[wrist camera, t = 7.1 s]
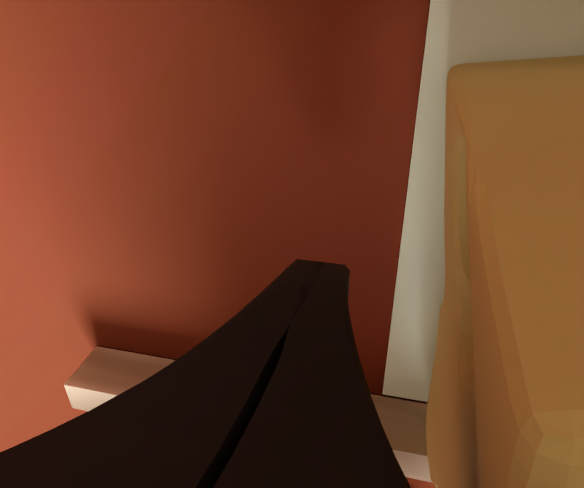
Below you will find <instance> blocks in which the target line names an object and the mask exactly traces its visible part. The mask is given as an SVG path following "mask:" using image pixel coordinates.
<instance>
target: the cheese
mask: <svg viewBox="0 0 584 488" xmlns="http://www.w3.org/2000/svg"><path fill="white" fill-rule="evenodd" d="M444 241H445V293H444V301H443V302H442V304H441V307H440V313H439V322H438V332H437V342H436V351H435V358H434V364H433V370H432V376H431V383H430V389H429V396H428V404H427V415H426V444H427V458H428V464H429V471H430V479H431V481H432V483H433V484H434V485H435V487H436V488H584V55H581V56H567V57H552V58H537V59H522V60H507V61H493V62H477V63H464V64H457V65H455V66H453V67H451V69H450V71H449V72H448V75H447V84H446V124H445V189H444Z"/></svg>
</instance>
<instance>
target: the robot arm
mask: <svg viewBox="0 0 584 488" xmlns="http://www.w3.org/2000/svg"><path fill="white" fill-rule="evenodd" d="M349 275H350V270H349V269H348V268H347V267H346V266H345V265H341V264H333V263H324V262H316V261H307V260H299V259H297V260H296V261H294V262H293V263H292V264H291V265H290V266H289V267H288V268H286V269H285V270H284V271H283V272H282V273H281V274H280V275H279V276H278V277H277V278H276V279H275V280H274V281H273V282H272V283H271V284H270V285H269V286H268V287H266V288H265V289H264V290H263V291H262V292H261V293H260V294H259V295H258V296H257V297H255V298H254V299H253V300H252V301H251V302H250V303H249V304H247V305H246V306H245V307H244V308H243V309H242V310H241V311H239V312H238V313H237V314H236V315H235V316H234V317H232V318H231V319H230V320H229V321H228V322H226V323H225V324H224V325H222V326H221V327H220V328H219V329H217V330H216V331H215V332H213V333H212V334H211V335H210V336H208V337H207V338H206V339H205V340H203V341H202V342H201V343H199V344H198V345H197V346H195V347H194V348H193V349H191V350H190V351H188V352H187V353H186V354H184V355H183V356H181V357H180V358H178V359H177V360H175V361H174V362H172V363H171V364H169V365H168V366H166V367H165V368H163V369H162V370H160V371H159V372H157V373H155V374H154V375H152V376H151V377H149V378H147V379H146V380H144V381H142V382H141V383H139V384H137V385H135V386H133V387H132V388H130V389H128V390H126V391H124V392H123V393H121V394H119V395H117V396H115V397H113V398H112V399H110V400H108V401H106V402H104V403H103V404H101V405H99V406H97V407H95V408H94V409H92V410H90V411H88V412H86V413H84V414H82V415H80V416H78V417H76V418H74V419H72V420H70V421H68V422H66V423H64V424H62V425H60V426H58V427H56V428H54V429H52V430H50V431H47V432H45V433H43V434H41V435H39V436H36V437H34V438H32V439H30V440H28V441H25V442H23V443H21V444H19V445H17V446H14V447H12V448H10V449H7V450H5V451H3V452H0V488H410V485H409V483H408V481H407V479H406V477H405V475H404V473H403V471H402V469H401V467H400V465H399V463H398V461H397V459H396V457H395V454H394V452H393V450H392V447H391V445H390V443H389V440H388V438H387V436H386V433H385V431H384V428H383V426H382V424H381V421H380V419H379V416H378V413H377V411H376V408H375V405H374V403H373V400H372V397H371V394H370V391H369V389H368V386H367V382H366V379H365V376H364V373H363V369H362V366H361V363H360V359H359V356H358V352H357V348H356V344H355V340H354V335H353V330H352V325H351V320H350V314H349V307H348V292H349Z"/></svg>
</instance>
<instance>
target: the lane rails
mask: <svg viewBox="0 0 584 488" xmlns="http://www.w3.org/2000/svg"><path fill="white" fill-rule="evenodd" d="M174 361H175V360H172V359H167V358H161V357H155V356H149V355H144V354H138V353H132V352H126V351H121V350H115V349H109V348H103V347H98V346H96V348H95V349H94V350H93V351H92V352H91V353H90V355H89V356H88V357H87V358H86V359H85V360H84V362H83V363H82V364H81V365H80V366H79V368H78V369H77V370H76V371H75V372H74V373H73V375H72V376H71V377H70V378H69V379H68V380H67V382H66V383H65V384H64V387H65V389H66V392H67V395H68V397H69V400H70V403H71V405H72V408H76V409H80V410H85V411H90V410H92V409H94V408H95V407H97V406H99V405H101V404H103V403H104V402H106V401H108V400H110V399H112V398H113V397H115V396H117V395H119V394H121V393H123V392H124V391H126V390H128V389H130V388H132V387H133V386H135V385H137V384H139V383H141V382H142V381H144V380H146V379H147V378H149V377H151V376H152V375H154V374H155V373H157V372H159V371H160V370H162V369H163V368H165V367H166V366H168V365H169V364H171V363H172V362H174ZM371 397H372V400H373V403H374V405H375V408H376V411H377V413H378V416H379V419H380V421H381V424H382V426H383V428H384V431H385V433H386V436H387V438H388V440H389V443H390V445H391V447H392V450H393V452H394V454H395V457H396V459H397V461H398V463H399V465H400V467H401V469H402V471H403V473H404V475H405V477H408V478H413V479H417V480H422V481H427V482H432V481H431V479H430V471H429V464H428V458H427V444H426V415H427V404H424V403H419V402H413V401H407V400H402V399H396V398H390V397H384V396H379V395H373V394H371Z"/></svg>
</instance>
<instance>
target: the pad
mask: <svg viewBox="0 0 584 488" xmlns="http://www.w3.org/2000/svg"><path fill="white" fill-rule="evenodd" d="M581 55H584V0H431V1H430V9H429V17H428V25H427V33H426V42H425V50H424V58H423V66H422V74H421V82H420V91H419V99H418V107H417V115H416V123H415V131H414V139H413V148H412V156H411V164H410V172H409V180H408V188H407V197H406V205H405V213H404V221H403V229H402V237H401V245H400V254H399V262H398V270H397V278H396V286H395V294H394V303H393V311H392V319H391V327H390V335H389V343H388V351H387V360H386V368H385V376H384V384H383V393H382V394H384V395H389V396H395V397H401V398H407V399H412V400H418V401H424V402H428V396H429V389H430V383H431V376H432V370H433V364H434V358H435V351H436V342H437V332H438V322H439V313H440V307H441V304H442V302H443V301H444V293H445V241H444V189H445V124H446V84H447V75H448V72H449V71H450V69H451V67H453V66H455V65H457V64H464V63H477V62H493V61H507V60H522V59H537V58H552V57H567V56H581Z"/></svg>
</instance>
